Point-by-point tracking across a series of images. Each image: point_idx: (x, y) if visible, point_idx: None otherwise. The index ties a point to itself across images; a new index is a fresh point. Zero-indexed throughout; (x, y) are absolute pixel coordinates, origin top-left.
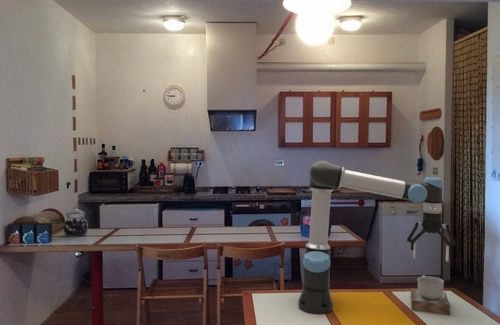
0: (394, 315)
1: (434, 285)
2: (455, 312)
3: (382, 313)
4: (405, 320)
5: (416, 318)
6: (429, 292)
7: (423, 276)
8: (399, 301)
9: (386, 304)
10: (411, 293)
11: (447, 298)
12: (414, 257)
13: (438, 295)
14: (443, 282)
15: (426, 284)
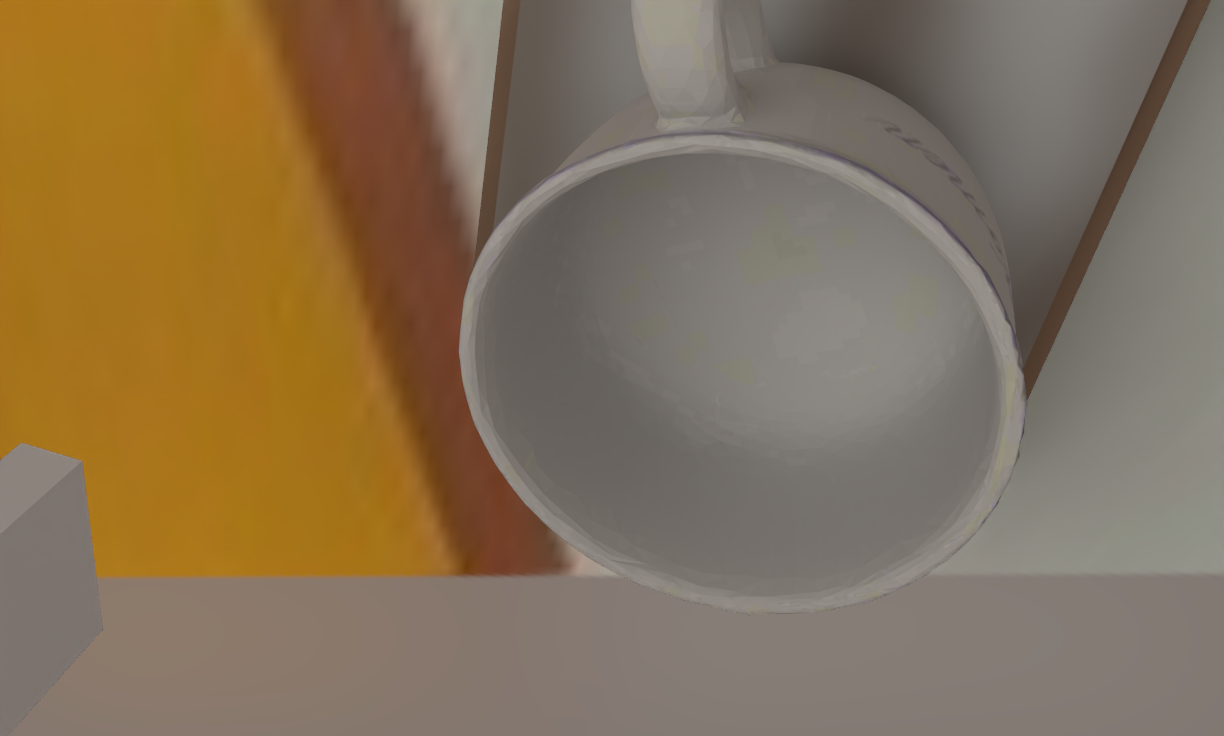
0: (298, 473)
1: (729, 599)
2: (1112, 349)
3: (181, 432)
4: (399, 576)
5: (517, 534)
6: (676, 479)
7: (651, 80)
8: (372, 11)
9: (202, 163)
10: (499, 47)
11: (1107, 222)
12: (68, 635)
13: (838, 464)
14: (965, 541)
15: (591, 552)
